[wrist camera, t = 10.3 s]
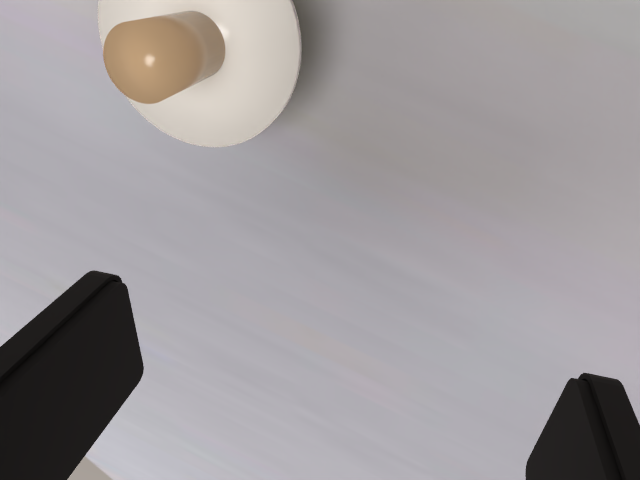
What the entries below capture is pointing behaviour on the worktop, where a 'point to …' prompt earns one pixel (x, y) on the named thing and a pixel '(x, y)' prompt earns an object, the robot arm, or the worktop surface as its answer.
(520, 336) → the worktop surface
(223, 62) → the lid
